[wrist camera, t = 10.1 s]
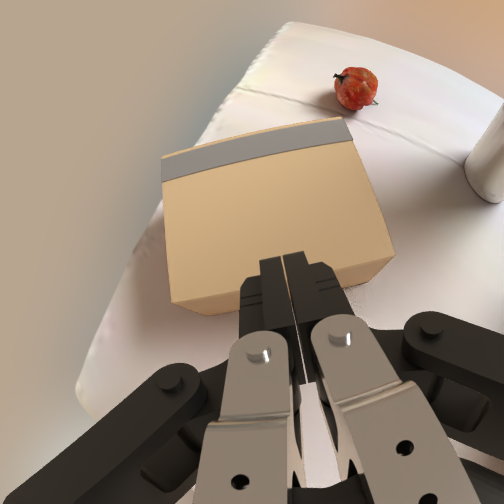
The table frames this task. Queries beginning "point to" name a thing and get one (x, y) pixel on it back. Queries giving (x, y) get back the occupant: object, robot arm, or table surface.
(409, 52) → the table surface
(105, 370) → the table surface
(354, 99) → the pomegranate
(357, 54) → the table surface
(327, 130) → the box lid
